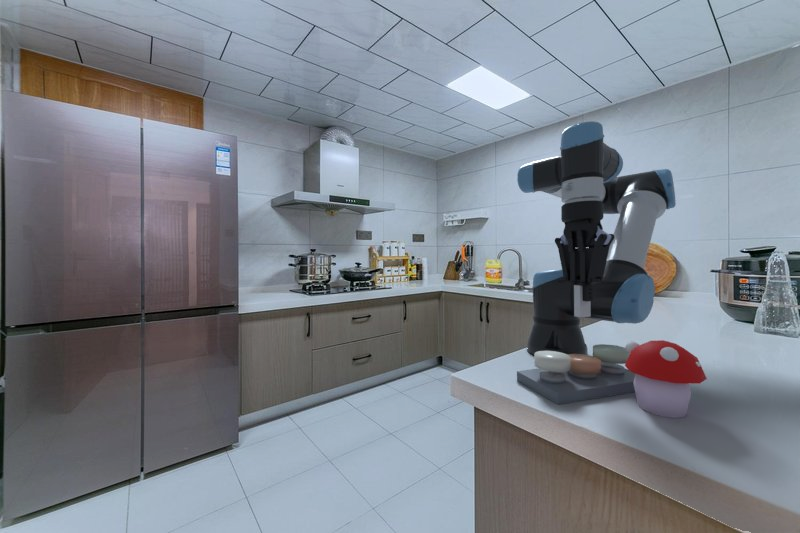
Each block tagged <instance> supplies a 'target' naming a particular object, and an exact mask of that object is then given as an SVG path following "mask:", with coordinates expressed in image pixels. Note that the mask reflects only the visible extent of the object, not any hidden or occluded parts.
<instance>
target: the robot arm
mask: <svg viewBox="0 0 800 533" xmlns="http://www.w3.org/2000/svg"><path fill="white" fill-rule="evenodd" d="M604 138H605V134H604V129H603V124H602V123H600V122H598V121H583V122H579V123H578V122H577V123H574V124H572V125H571V126H570V125H569V126H568V127H566V128H565V129H564V130H563V131H562V133H561V138H560V147H559V150H560V155H557V156H553V157H548V158H544V159H540V160H536V161H532V162H529V163H526V164H524V165H522V166H520V167H519V169H518V172H517V179H516V181H517V186H518V188H519V189H520V191H521V192H522V193H526V194H527V193H528V194H530V193H533V194H534V193H536V192H542V193H546V194H548V195H551V196H554V197H557V198H560V199H561V202H562V203H563V204H562V206H561V210H560V211H561V212H560V213H561V214H560V215H561V218H560V219H561V222H562V223H564V228H563V231H562V233H563V234H562V235H561V236H560V237H556V238H554V243H555V245H556V247H557V250H558V255H559V260H560V264H561V268H560V269H552V270H545V271H544V270H543V271H538V272H536V273H535V274H534V275H533V280H532V286H531V287H532V288H531V289H532V318H533V323H532V326H531V329H530V332H529V336H528V338H527V341H526V351H527V352H529V354H531V355H533V356H534V353H535V352H538V351H556V352H561V353H565V354H584V355H589V354H588V353H589V352H588V345H587V344H586V342H585V336H584V335H583V332H582V329H581V322H580V321H581V320H580V319H587V320H589V319H590V320H595V321H596V320H598V321H606V322H613V323H616V324H634V325H635V324H639V323H642V322H644V321H646V319H647V318H648V316H649V315H650V314H651V311H652V309H653V304H654V301H655V299H654V298H655V292H656V288H655V286H656V285H655V281H654V279H653V277H652V276H650V275H649V274H648V272H647V270H646V268H645V264H646V260H647V256H648V252H649V250H650V249H649V248H650V245H651V240H652V237H653V233H654V229H655V227H656V226H655V225H656V222H657V219H660V218H661V217H662V216H663V215H664V213H665V212H666V210H670V209H673V208H675V207H676V192H675V191H676V190H675V185H674V178H673V173H672V171H671V170H670V169H668V168H661V169H653V170H651V171H644V172H640V173H634V174H628V175H627V174H626V175H622V176H619V175H620V174H621V172H622V170H623V167H624V161H623V160H624V159H623V158H622V155H621V154H620V153H619V152H618V151H617V149H615V148H613V147H610V146H609V145H607V144H606V143H605V142H604ZM616 214H619V217H618V220H617V223H616V225H615V229H614V232H613V233H608V232H606V231H604V228H603V225H602V223H601V221H602V220H603V219H604V215H616ZM527 348H528V349H527Z"/></svg>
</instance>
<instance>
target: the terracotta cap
mask: <svg viewBox="0 0 800 533" xmlns="http://www.w3.org/2000/svg"><path fill="white" fill-rule="evenodd" d="M567 355H569V356H570V357H571V369H570V370H569V371H571V372H575V373H579V374H586V375H596V374H600V373H601V360H600V359H599V358H597V357H594V356H593V355H589V354H588V355H584V354H567Z"/></svg>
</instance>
